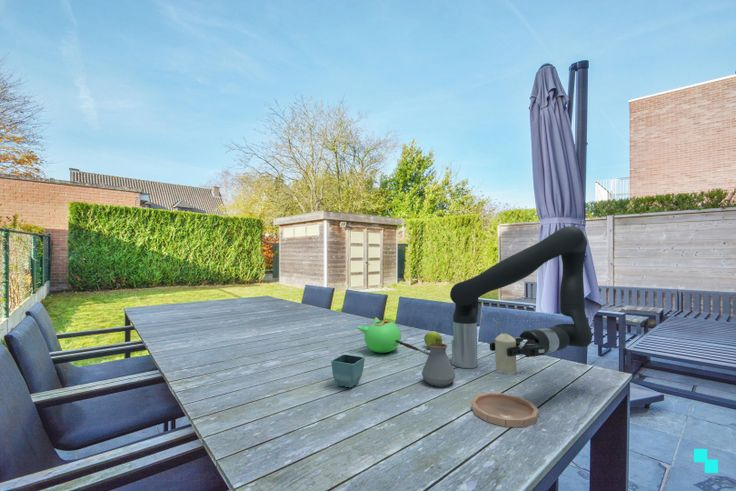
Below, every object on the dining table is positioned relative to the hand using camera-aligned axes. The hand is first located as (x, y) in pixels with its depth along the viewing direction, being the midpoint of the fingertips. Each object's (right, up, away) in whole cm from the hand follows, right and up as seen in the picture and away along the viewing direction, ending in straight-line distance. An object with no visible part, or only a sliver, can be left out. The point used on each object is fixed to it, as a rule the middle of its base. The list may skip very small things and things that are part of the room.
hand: (499, 349), depth 97 cm
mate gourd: (+23, -19, +55) cm, 62 cm away
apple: (-6, -19, +65) cm, 68 cm away
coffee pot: (-17, -19, +23) cm, 34 cm away
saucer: (+2, -18, 0) cm, 18 cm away
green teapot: (-31, -19, +60) cm, 70 cm away
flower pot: (-44, -19, +21) cm, 52 cm away
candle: (+2, -6, +1) cm, 7 cm away
